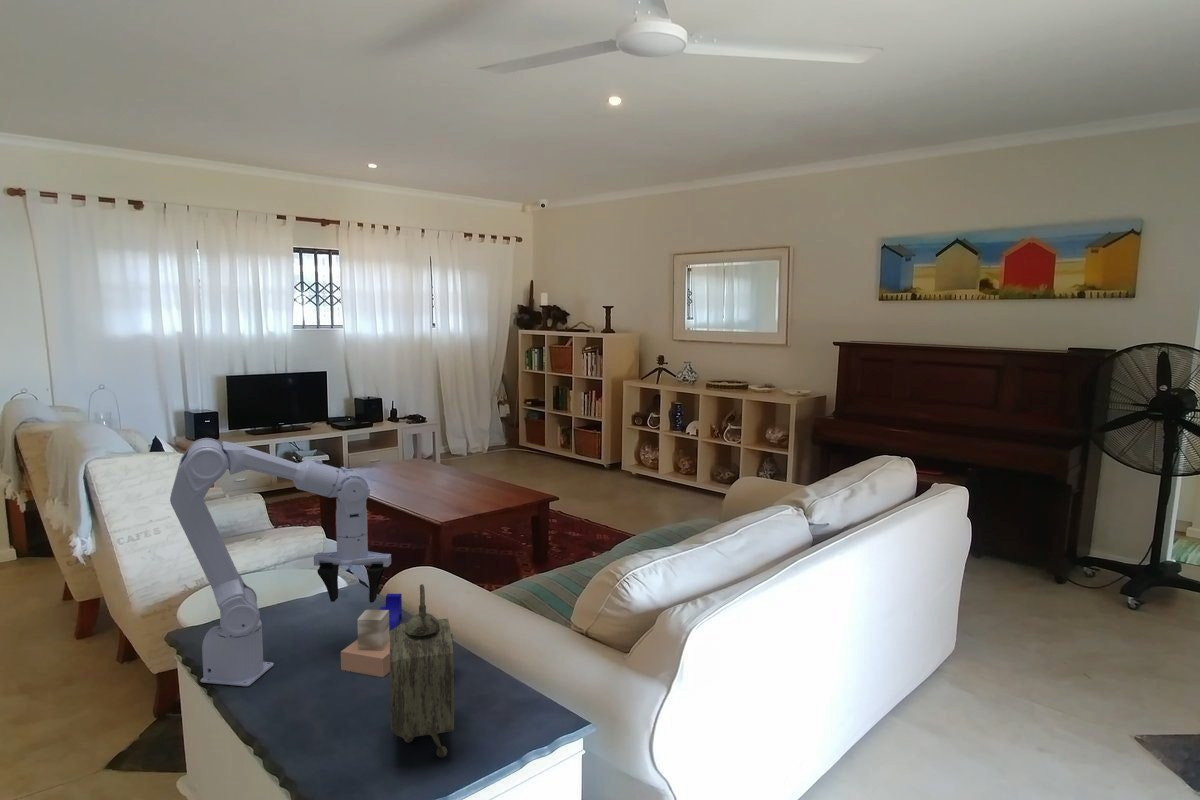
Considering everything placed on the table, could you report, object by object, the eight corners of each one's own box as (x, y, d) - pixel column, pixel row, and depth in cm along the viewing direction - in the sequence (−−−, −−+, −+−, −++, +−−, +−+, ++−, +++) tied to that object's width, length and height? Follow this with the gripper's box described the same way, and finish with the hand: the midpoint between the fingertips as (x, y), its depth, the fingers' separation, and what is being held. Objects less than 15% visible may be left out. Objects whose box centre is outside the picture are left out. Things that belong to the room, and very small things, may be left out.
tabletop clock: (454, 763, 103) (453, 603, 100) (391, 773, 100) (388, 609, 97) (447, 710, 116) (446, 568, 114) (391, 718, 114) (389, 573, 111)
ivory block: (358, 649, 130) (357, 619, 129) (366, 639, 134) (365, 609, 133) (381, 650, 129) (381, 619, 129) (389, 639, 134) (388, 610, 133)
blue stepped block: (381, 619, 151) (380, 593, 151) (401, 619, 151) (401, 593, 151) (364, 645, 139) (363, 617, 139) (386, 645, 140) (386, 617, 139)
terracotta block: (341, 671, 129) (340, 651, 129) (369, 650, 138) (369, 631, 137) (383, 679, 127) (382, 658, 126) (409, 656, 135) (409, 637, 135)
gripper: (306, 539, 130) (308, 607, 132) (382, 540, 130) (384, 609, 132) (321, 527, 137) (323, 593, 139) (393, 529, 137) (395, 594, 139)
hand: (353, 600), depth 136 cm, fingers open, 7 cm apart
